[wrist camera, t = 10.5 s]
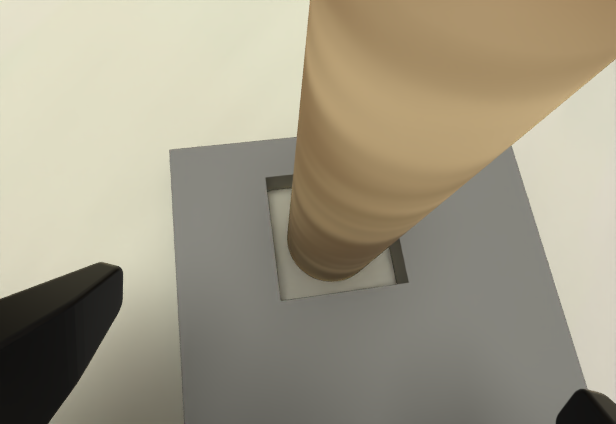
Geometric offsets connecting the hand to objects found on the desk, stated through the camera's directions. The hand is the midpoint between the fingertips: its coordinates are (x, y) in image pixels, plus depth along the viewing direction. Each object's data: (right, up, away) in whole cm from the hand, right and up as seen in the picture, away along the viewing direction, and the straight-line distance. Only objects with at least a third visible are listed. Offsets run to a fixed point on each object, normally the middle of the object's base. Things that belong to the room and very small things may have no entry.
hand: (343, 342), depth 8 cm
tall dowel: (0, +1, +9) cm, 9 cm away
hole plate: (+2, -2, +8) cm, 9 cm away
